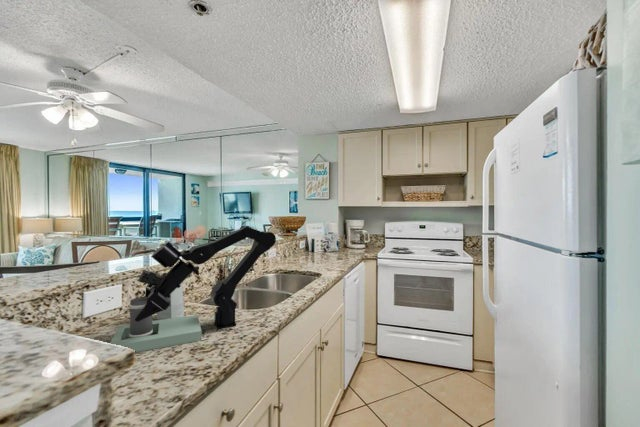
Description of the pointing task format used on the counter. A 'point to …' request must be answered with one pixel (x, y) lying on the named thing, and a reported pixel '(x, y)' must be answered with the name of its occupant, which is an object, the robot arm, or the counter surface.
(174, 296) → the skincare box
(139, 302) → the white-banded grey cylinder
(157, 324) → the pale green recessed tray
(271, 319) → the counter surface
